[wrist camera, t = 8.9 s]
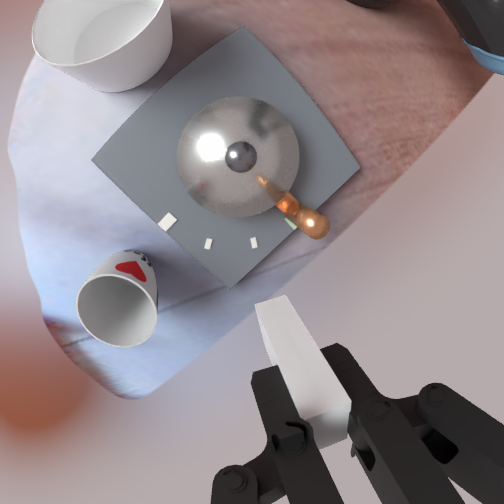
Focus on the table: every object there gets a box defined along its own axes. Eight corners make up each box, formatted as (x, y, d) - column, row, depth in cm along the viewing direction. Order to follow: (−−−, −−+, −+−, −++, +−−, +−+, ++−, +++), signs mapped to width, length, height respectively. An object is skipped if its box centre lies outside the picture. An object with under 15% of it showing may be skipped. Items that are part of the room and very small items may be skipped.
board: (240, 31, 25) (244, 24, 23) (352, 165, 34) (361, 167, 32) (96, 159, 27) (90, 160, 25) (227, 281, 36) (230, 290, 34)
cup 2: (176, 278, 34) (174, 325, 25) (127, 308, 34) (113, 358, 25) (138, 224, 31) (120, 256, 22) (89, 259, 31) (60, 300, 21)
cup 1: (80, 21, 19) (42, -20, 8) (172, 1, 21) (170, -56, 10) (76, 103, 24) (25, 87, 13) (174, 83, 26) (167, 47, 15)
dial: (153, 163, 26) (143, 167, 20) (233, 78, 25) (246, 61, 19) (265, 256, 33) (283, 281, 27) (334, 180, 31) (365, 190, 25)
